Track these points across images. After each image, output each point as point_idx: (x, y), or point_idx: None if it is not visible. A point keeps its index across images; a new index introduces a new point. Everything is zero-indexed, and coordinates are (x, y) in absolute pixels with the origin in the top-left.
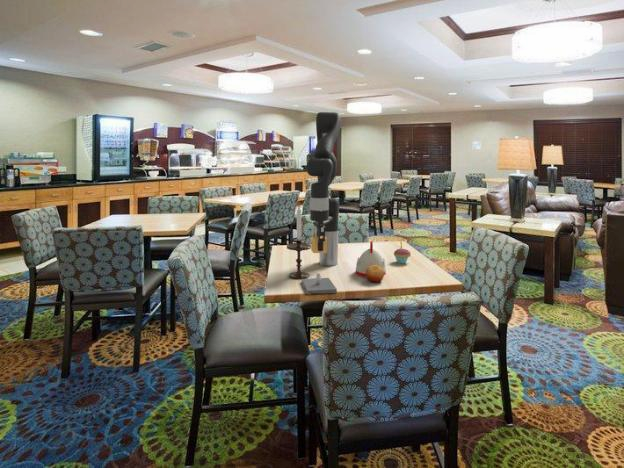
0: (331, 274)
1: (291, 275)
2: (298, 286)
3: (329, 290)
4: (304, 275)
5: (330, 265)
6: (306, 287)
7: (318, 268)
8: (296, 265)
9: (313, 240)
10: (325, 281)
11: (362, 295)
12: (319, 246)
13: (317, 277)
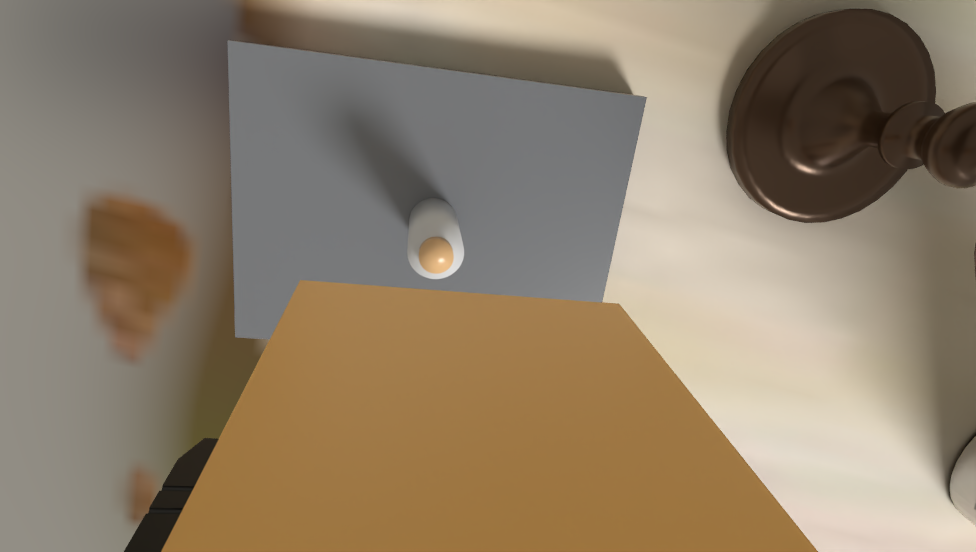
0: (742, 410)
1: (853, 37)
2: (515, 20)
3: (236, 269)
4: (796, 175)
5: (957, 462)
6: (342, 62)
7: (946, 356)
8: (924, 105)
9: (233, 510)
10: None
11: (151, 484)
12: (146, 515)
13: (414, 225)
